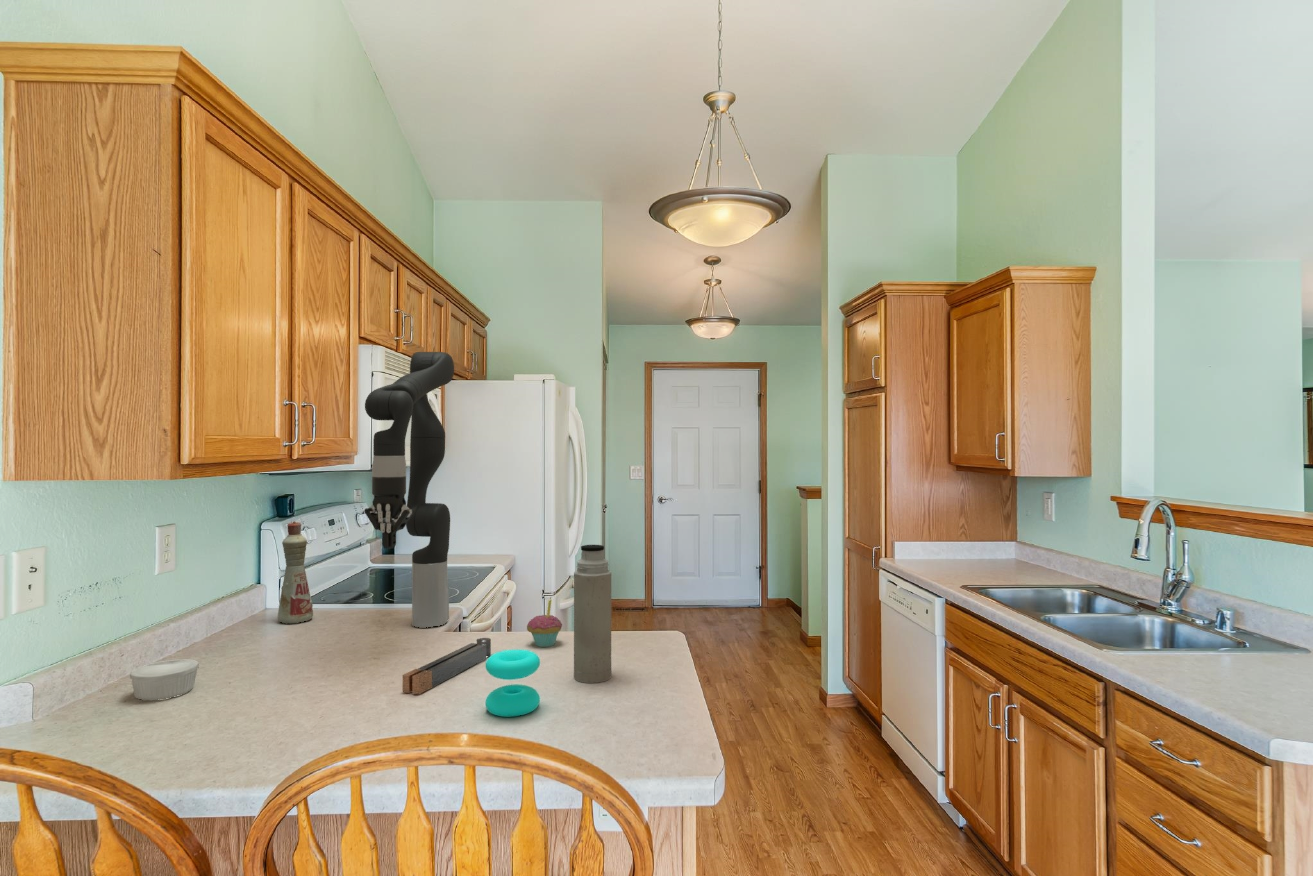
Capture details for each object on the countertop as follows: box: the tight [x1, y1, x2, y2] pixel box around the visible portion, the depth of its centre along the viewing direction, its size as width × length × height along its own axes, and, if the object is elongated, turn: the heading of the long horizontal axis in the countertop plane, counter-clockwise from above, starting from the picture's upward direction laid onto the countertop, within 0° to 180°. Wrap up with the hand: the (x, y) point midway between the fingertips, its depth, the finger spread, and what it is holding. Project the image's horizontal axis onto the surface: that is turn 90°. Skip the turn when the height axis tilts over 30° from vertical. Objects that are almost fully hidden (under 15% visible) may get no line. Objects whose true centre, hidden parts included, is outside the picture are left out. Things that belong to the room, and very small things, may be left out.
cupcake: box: [526, 596, 563, 648], centre depth 171 cm, size 9×8×12 cm
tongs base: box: [411, 637, 492, 695], centre depth 150 cm, size 28×4×4 cm, turn 161°
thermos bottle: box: [573, 544, 612, 684], centre depth 147 cm, size 8×8×28 cm
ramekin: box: [129, 658, 200, 701], centre depth 138 cm, size 11×11×5 cm
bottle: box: [277, 520, 314, 624], centre depth 194 cm, size 9×9×28 cm
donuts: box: [485, 649, 541, 718], centre depth 130 cm, size 10×10×10 cm
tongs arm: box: [402, 642, 477, 694], centre depth 149 cm, size 24×2×3 cm, turn 161°
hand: (389, 548), depth 163 cm, fingers closed
